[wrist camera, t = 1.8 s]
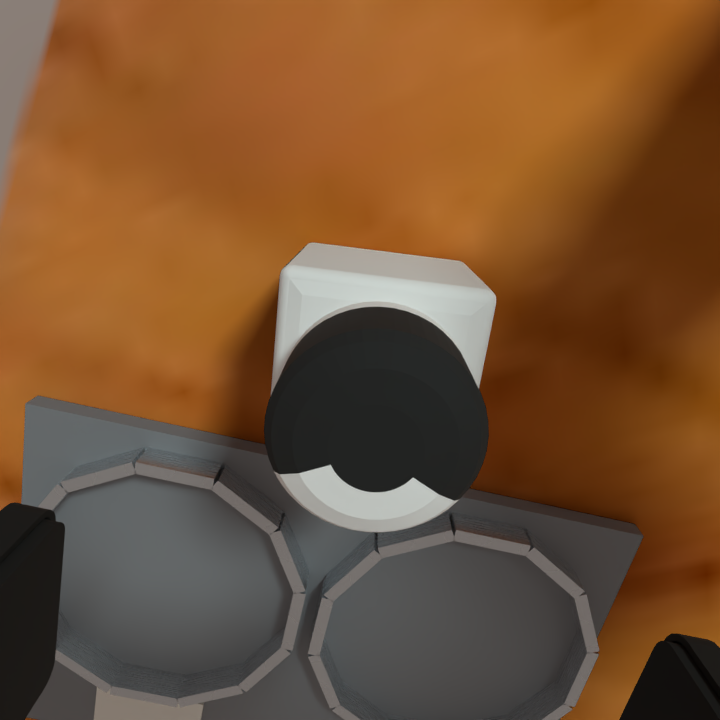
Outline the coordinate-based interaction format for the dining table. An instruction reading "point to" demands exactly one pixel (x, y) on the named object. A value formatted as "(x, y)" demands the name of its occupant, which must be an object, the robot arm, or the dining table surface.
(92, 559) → the socket board
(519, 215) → the dining table surface
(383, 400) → the medicine bottle
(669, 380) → the dining table surface
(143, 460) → the steel rings
